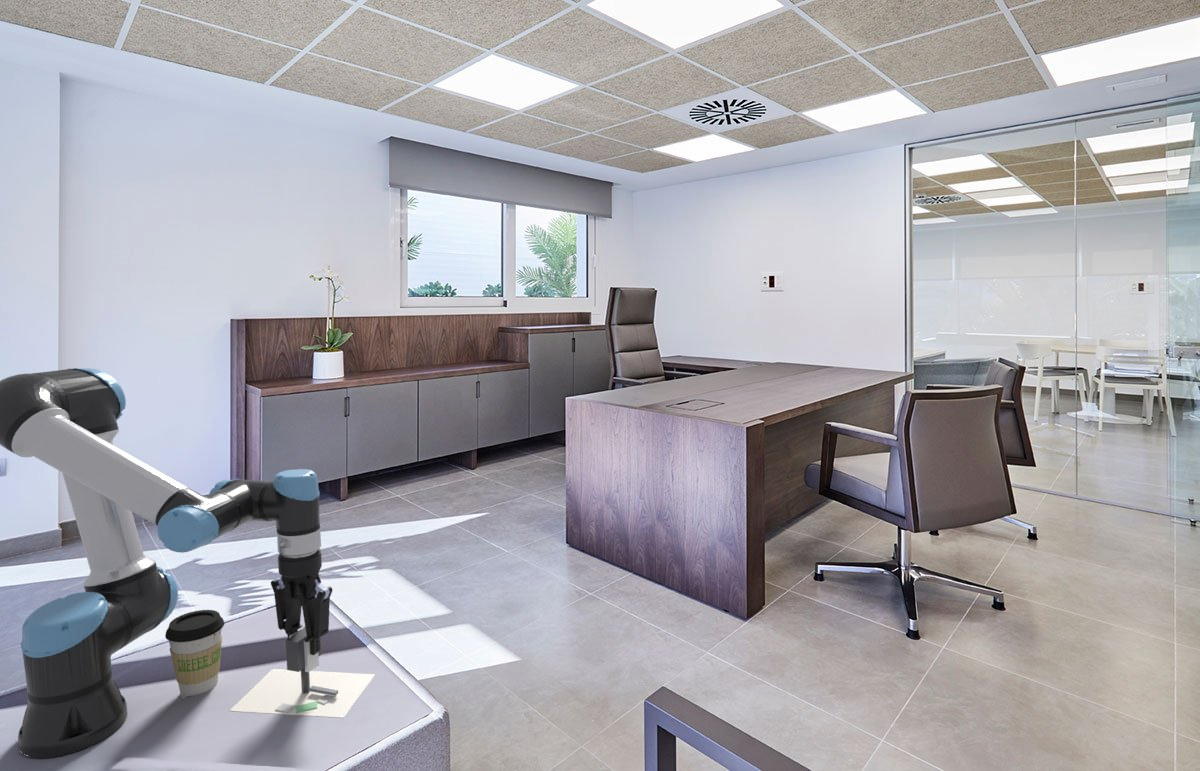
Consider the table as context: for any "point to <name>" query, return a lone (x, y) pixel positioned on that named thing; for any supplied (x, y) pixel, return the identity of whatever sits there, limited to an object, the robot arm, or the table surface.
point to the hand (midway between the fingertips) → (304, 666)
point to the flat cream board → (304, 694)
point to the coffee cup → (196, 650)
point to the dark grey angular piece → (302, 662)
